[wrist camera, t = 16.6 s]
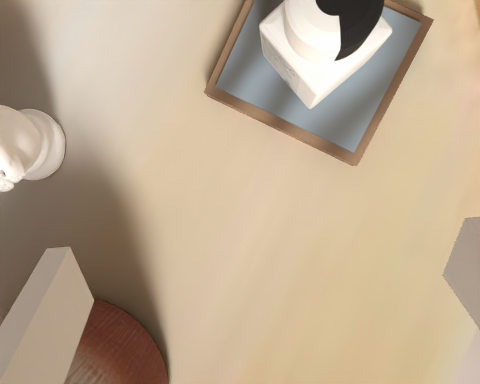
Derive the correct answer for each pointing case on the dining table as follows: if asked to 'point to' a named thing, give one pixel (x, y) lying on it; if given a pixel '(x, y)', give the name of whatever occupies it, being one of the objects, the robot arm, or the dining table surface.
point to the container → (322, 42)
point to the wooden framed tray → (332, 106)
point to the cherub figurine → (28, 146)
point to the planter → (115, 351)
